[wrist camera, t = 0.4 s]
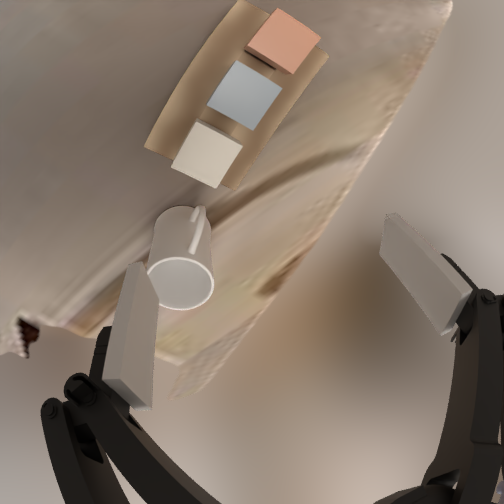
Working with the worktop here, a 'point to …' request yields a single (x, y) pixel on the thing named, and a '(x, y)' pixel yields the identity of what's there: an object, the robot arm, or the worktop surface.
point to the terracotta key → (282, 42)
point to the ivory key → (206, 153)
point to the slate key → (243, 95)
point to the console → (208, 77)
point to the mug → (181, 258)
